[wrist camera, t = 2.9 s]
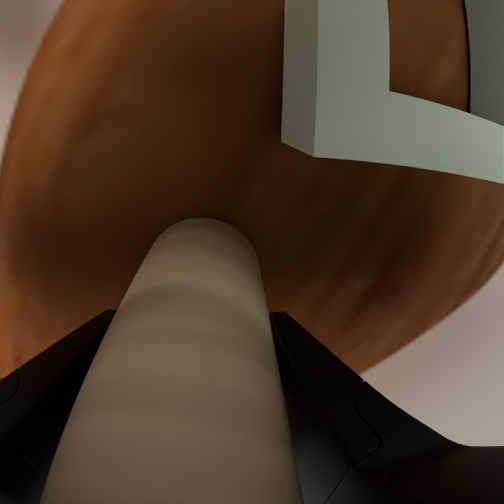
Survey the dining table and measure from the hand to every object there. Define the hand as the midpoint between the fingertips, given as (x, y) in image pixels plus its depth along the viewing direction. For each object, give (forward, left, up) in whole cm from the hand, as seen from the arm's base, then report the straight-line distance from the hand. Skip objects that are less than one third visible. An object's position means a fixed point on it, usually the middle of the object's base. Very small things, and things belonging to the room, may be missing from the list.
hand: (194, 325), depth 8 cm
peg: (0, 0, -3) cm, 3 cm away
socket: (+9, -7, -3) cm, 12 cm away
